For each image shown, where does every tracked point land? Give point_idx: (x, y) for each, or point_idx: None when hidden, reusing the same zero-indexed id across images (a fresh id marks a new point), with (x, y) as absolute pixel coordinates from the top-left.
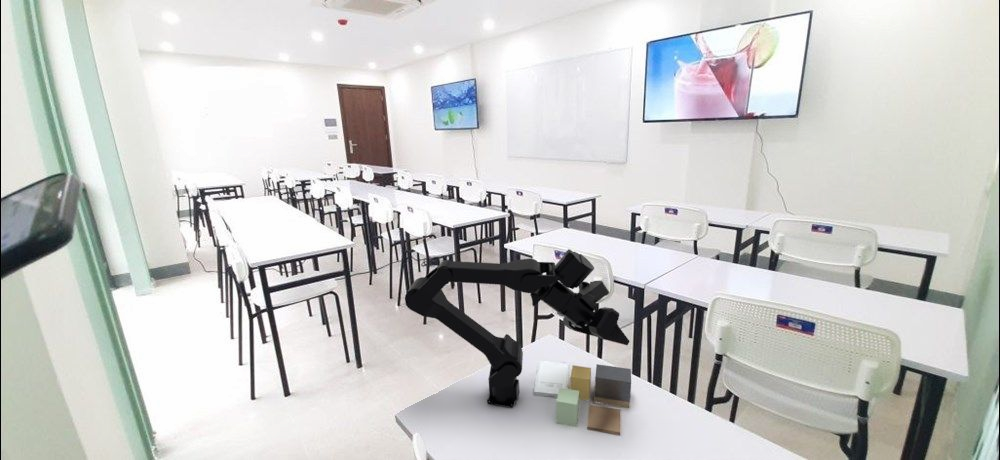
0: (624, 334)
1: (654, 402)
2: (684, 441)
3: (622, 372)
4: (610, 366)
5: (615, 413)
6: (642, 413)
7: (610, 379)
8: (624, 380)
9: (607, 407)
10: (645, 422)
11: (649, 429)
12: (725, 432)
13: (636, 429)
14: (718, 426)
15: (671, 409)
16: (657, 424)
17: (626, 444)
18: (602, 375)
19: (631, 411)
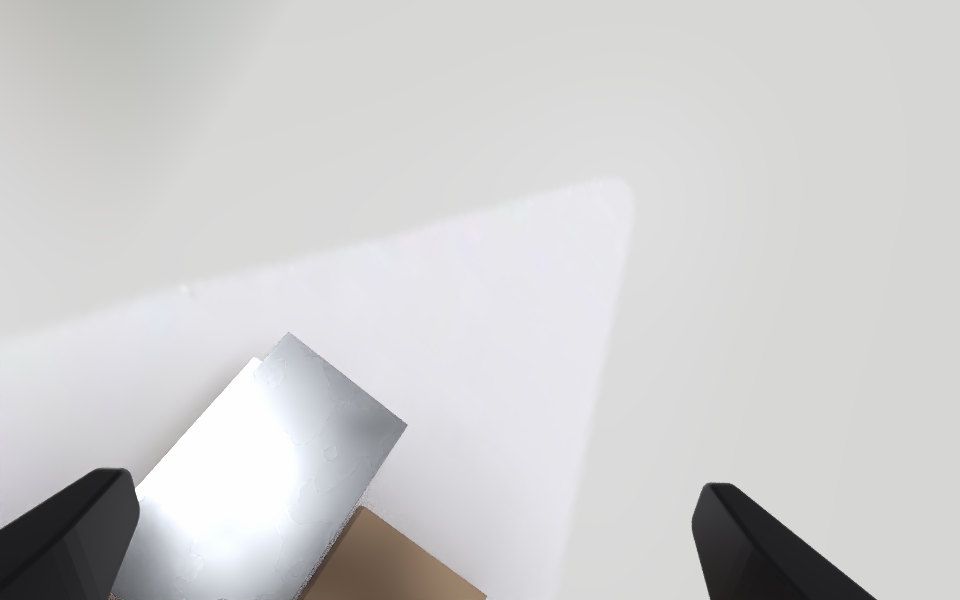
0: (859, 587)
1: (369, 301)
2: (566, 356)
3: (296, 415)
4: (182, 460)
5: (379, 553)
6: (405, 404)
7: (322, 551)
8: (375, 456)
9: (323, 574)
10: (453, 428)
11: (488, 439)
12: (570, 205)
13: (472, 494)
14: (546, 200)
15: (431, 270)
16: (477, 387)
17: (523, 590)
18: (252, 594)
19: None
